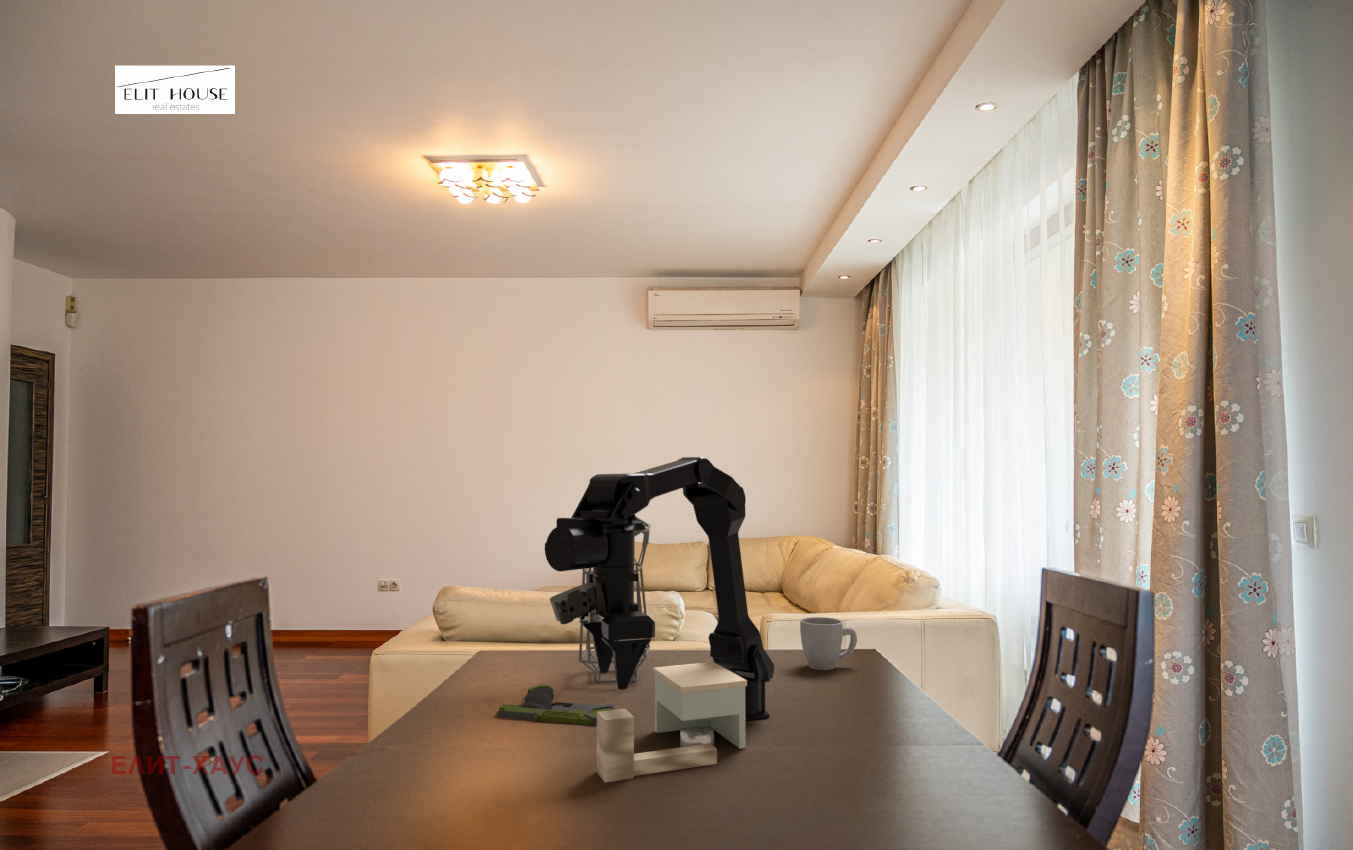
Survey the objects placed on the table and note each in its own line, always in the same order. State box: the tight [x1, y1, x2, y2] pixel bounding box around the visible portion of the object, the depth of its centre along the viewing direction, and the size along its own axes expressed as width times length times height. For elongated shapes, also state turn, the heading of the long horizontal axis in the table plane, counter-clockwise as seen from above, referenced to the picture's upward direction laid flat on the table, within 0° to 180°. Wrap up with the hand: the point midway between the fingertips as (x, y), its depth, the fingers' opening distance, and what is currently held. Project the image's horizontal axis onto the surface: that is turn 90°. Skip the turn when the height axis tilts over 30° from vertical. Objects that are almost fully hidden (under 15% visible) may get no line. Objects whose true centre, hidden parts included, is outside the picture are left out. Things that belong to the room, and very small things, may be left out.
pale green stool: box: [652, 661, 747, 750], centre depth 119 cm, size 10×12×10 cm
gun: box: [496, 684, 615, 726], centre depth 134 cm, size 2×19×15 cm
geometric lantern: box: [578, 516, 652, 683], centre depth 156 cm, size 16×16×35 cm
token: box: [679, 725, 715, 748], centre depth 115 cm, size 5×5×2 cm
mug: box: [799, 616, 858, 671], centre depth 163 cm, size 12×9×10 cm
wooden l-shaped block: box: [596, 708, 718, 783], centre depth 107 cm, size 16×4×8 cm, turn 111°
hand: (612, 680), depth 106 cm, fingers open, 9 cm apart
